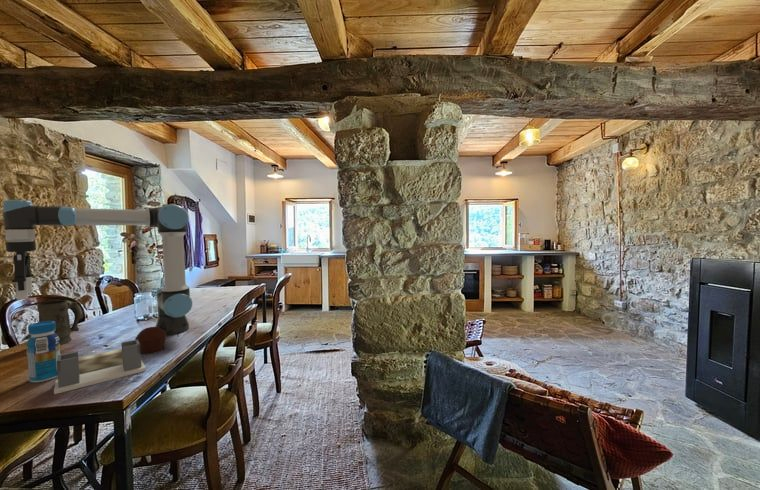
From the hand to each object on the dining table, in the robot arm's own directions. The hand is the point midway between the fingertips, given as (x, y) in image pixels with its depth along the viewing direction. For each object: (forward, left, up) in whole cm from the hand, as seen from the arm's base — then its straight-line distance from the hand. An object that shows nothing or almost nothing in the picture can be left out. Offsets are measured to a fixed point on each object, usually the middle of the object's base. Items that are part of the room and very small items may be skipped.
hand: (25, 296), depth 122 cm
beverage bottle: (-5, +17, -28) cm, 33 cm away
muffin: (-37, +13, -28) cm, 48 cm away
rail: (-20, +19, -28) cm, 39 cm away
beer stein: (-7, -33, -28) cm, 44 cm away
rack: (-20, +31, -28) cm, 46 cm away
